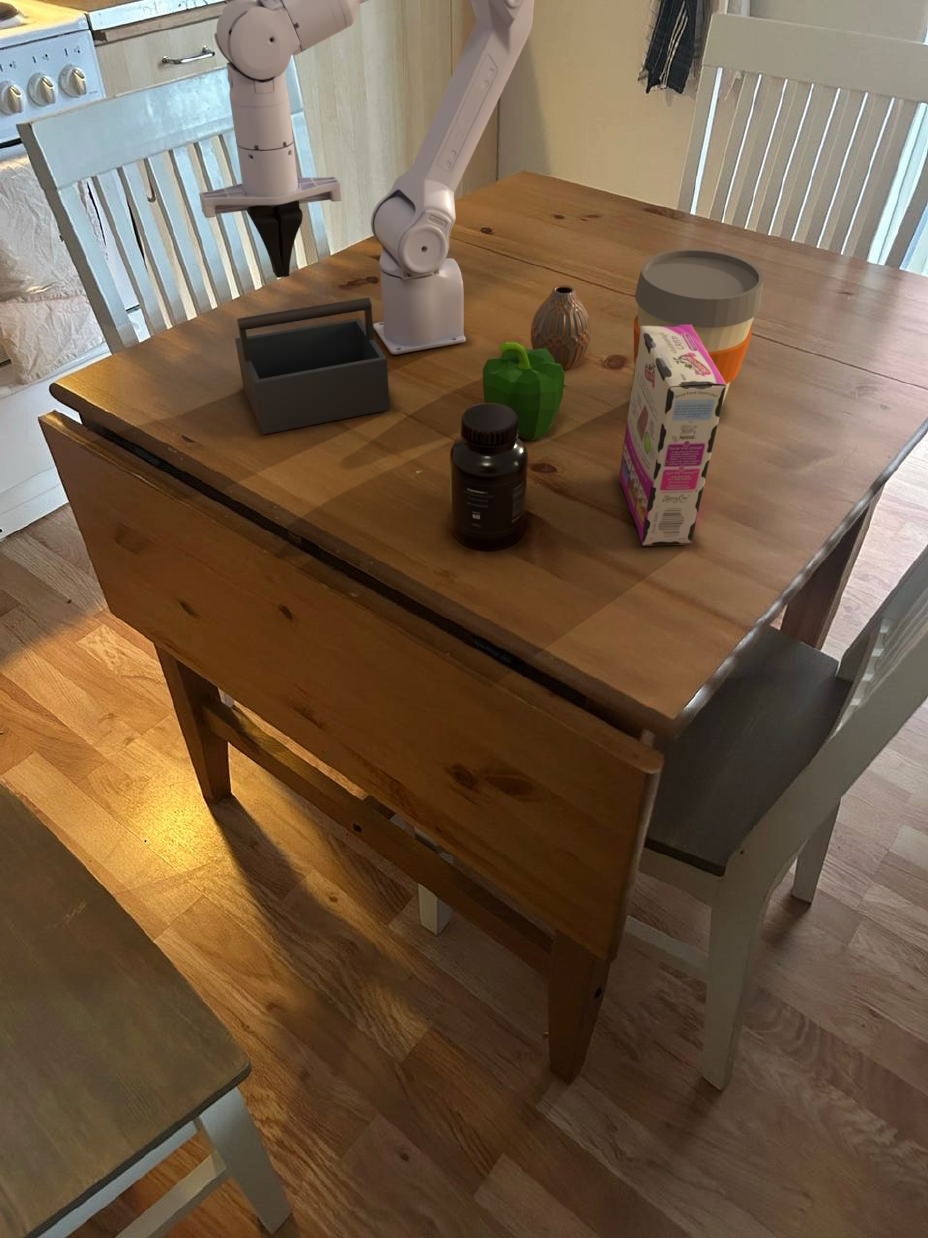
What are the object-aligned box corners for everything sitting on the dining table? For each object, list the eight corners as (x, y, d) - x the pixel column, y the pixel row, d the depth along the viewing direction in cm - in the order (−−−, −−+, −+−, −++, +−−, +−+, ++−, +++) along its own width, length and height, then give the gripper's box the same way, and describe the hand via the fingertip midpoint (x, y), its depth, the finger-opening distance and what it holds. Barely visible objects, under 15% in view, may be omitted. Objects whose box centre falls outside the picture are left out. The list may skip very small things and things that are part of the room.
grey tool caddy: (389, 409, 104) (384, 318, 97) (263, 434, 101) (247, 341, 94) (363, 366, 111) (356, 278, 104) (243, 388, 108) (227, 298, 101)
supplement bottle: (436, 536, 88) (433, 423, 80) (474, 499, 93) (475, 388, 84) (500, 561, 86) (504, 447, 77) (537, 522, 90) (544, 409, 82)
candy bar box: (695, 545, 87) (730, 384, 76) (641, 548, 87) (668, 386, 76) (666, 476, 96) (693, 320, 84) (616, 478, 95) (637, 322, 84)
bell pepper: (565, 412, 104) (572, 326, 97) (555, 453, 98) (562, 365, 92) (489, 404, 106) (491, 318, 99) (475, 444, 100) (475, 356, 93)
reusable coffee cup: (715, 448, 99) (744, 311, 89) (603, 417, 104) (618, 283, 93) (751, 394, 107) (781, 262, 97) (645, 368, 112) (664, 239, 101)
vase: (584, 378, 110) (591, 305, 104) (525, 372, 111) (528, 299, 105) (590, 350, 115) (597, 278, 109) (533, 344, 116) (537, 273, 110)
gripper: (323, 123, 101) (334, 250, 111) (185, 137, 97) (208, 269, 107) (342, 143, 97) (352, 274, 106) (198, 159, 93) (221, 294, 102)
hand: (281, 273), depth 106 cm, fingers closed
